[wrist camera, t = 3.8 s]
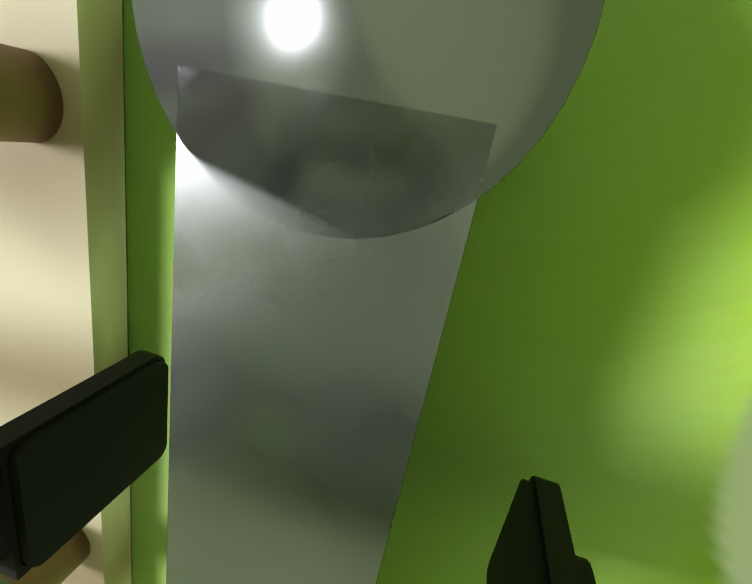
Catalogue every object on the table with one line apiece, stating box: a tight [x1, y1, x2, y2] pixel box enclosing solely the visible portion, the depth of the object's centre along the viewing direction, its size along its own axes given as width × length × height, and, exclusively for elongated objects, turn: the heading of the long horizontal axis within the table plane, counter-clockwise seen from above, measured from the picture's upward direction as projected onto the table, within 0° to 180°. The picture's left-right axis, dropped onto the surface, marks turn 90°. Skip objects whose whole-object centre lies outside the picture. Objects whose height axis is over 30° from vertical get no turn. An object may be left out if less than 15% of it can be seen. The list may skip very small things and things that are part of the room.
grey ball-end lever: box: [132, 0, 605, 584], centre depth 9 cm, size 20×5×5 cm, turn 169°
